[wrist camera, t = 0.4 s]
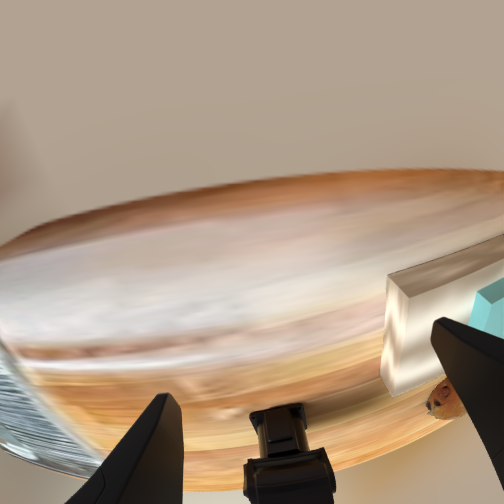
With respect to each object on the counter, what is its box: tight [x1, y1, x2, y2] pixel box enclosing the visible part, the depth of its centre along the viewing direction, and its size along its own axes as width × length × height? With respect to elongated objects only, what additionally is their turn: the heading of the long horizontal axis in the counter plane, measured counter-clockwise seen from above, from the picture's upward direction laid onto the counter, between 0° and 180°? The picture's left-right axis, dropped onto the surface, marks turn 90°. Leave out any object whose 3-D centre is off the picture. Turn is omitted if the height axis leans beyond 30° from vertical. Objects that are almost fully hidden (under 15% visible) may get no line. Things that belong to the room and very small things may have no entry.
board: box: [380, 235, 504, 398], centre depth 24 cm, size 14×18×4 cm
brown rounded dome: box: [426, 378, 467, 420], centre depth 32 cm, size 10×10×8 cm
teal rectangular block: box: [468, 277, 504, 339], centre depth 21 cm, size 9×6×2 cm, turn 13°
